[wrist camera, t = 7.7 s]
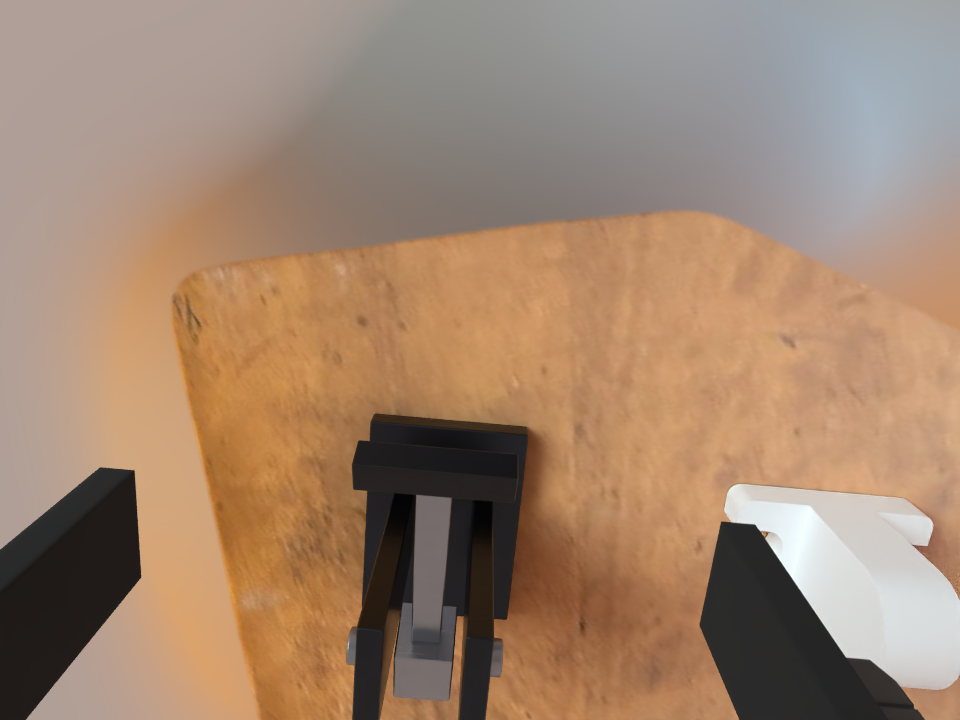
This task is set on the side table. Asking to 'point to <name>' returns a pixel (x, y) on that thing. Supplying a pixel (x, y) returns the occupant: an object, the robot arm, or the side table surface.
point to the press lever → (431, 545)
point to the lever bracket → (469, 573)
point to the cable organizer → (863, 576)
